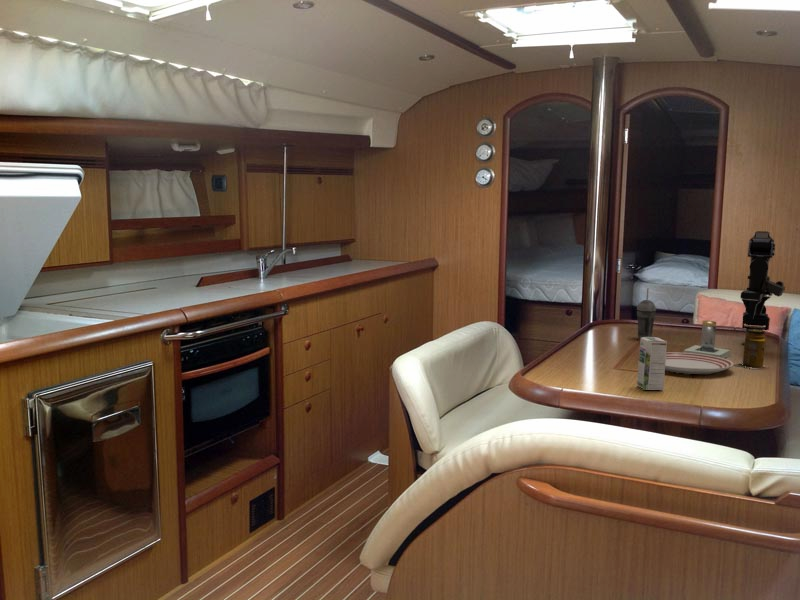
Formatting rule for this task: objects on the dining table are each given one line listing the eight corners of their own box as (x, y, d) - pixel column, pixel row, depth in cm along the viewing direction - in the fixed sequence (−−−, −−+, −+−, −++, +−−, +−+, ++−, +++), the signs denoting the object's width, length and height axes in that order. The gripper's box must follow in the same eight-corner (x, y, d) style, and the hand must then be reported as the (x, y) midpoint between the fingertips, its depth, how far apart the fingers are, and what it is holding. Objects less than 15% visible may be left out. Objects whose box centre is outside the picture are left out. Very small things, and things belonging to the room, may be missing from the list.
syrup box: (636, 386, 212) (639, 336, 210) (655, 386, 213) (659, 336, 211) (644, 391, 207) (647, 340, 205) (664, 391, 207) (668, 340, 205)
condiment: (768, 367, 241) (771, 330, 239) (753, 370, 236) (757, 333, 234) (747, 362, 247) (750, 327, 245) (732, 365, 242) (735, 329, 240)
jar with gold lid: (699, 353, 259) (702, 320, 258) (713, 354, 258) (715, 321, 256) (700, 356, 255) (702, 322, 254) (714, 357, 254) (716, 323, 252)
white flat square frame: (694, 350, 265) (695, 345, 265) (729, 355, 257) (730, 349, 257) (683, 355, 256) (683, 350, 255) (719, 361, 248) (720, 355, 248)
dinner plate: (623, 363, 244) (623, 353, 243) (686, 357, 255) (687, 347, 254) (685, 382, 219) (686, 371, 218) (752, 375, 230) (753, 364, 229)
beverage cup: (633, 341, 281) (636, 289, 279) (635, 337, 288) (638, 287, 285) (653, 342, 279) (657, 290, 276) (655, 339, 285) (658, 288, 283)
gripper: (777, 277, 245) (773, 323, 247) (790, 273, 260) (786, 317, 262) (741, 274, 252) (738, 319, 254) (756, 270, 266) (752, 313, 269)
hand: (754, 317), depth 259 cm, fingers open, 9 cm apart
